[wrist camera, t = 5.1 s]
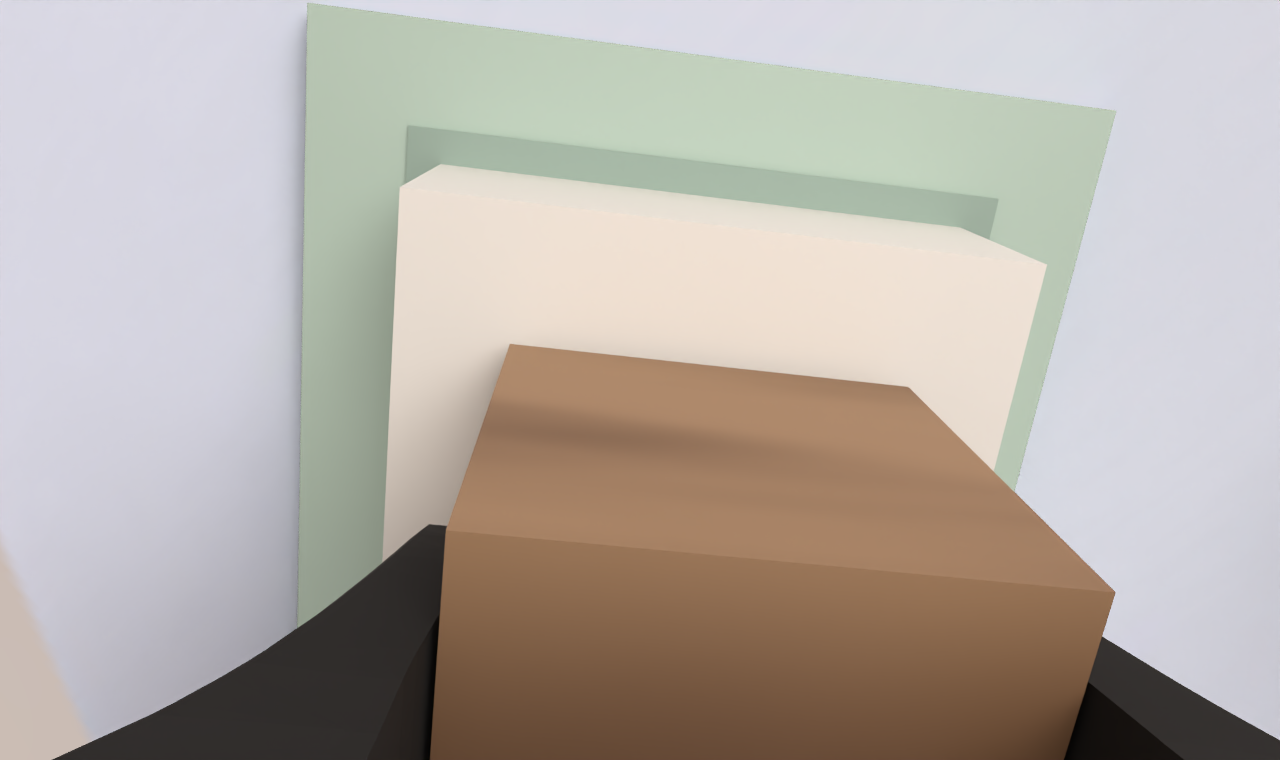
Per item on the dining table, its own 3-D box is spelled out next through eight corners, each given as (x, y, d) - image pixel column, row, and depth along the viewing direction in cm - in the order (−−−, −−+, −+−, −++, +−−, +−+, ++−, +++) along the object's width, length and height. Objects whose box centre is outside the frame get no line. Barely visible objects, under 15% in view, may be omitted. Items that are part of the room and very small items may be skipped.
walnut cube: (835, 721, 13) (965, 1076, 9) (479, 692, 13) (409, 1048, 8) (908, 386, 12) (1115, 592, 7) (510, 343, 11) (446, 530, 7)
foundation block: (859, 667, 17) (911, 786, 14) (412, 629, 16) (373, 746, 14) (959, 227, 15) (1046, 264, 12) (440, 164, 14) (399, 186, 11)
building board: (930, 742, 18) (942, 766, 18) (305, 693, 18) (294, 716, 17) (1096, 109, 15) (1118, 110, 14) (319, 5, 14) (305, 1, 13)
